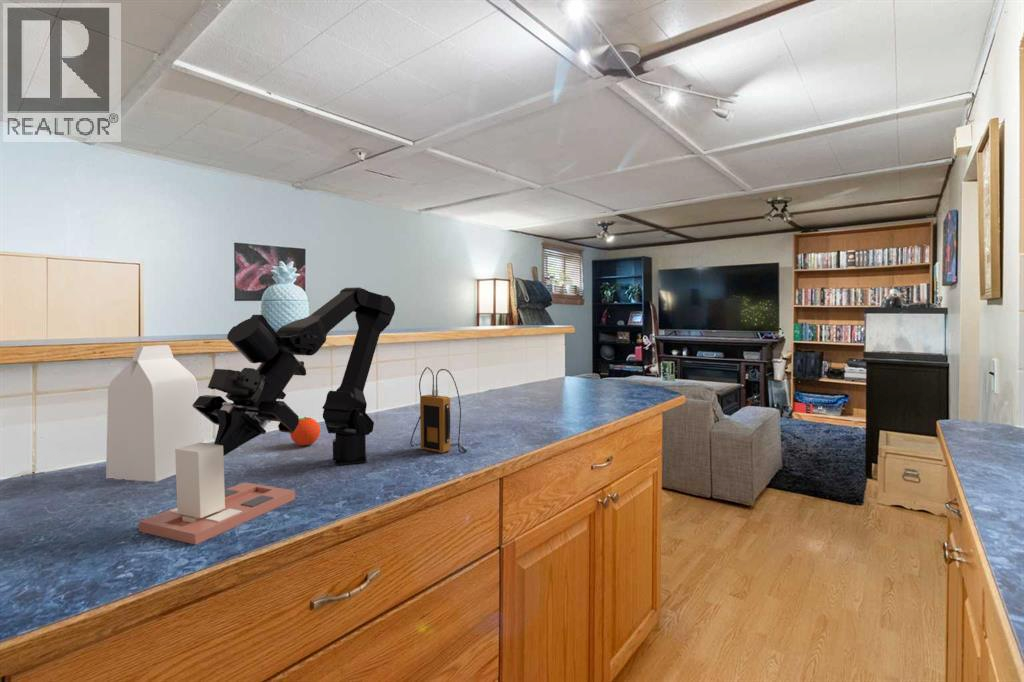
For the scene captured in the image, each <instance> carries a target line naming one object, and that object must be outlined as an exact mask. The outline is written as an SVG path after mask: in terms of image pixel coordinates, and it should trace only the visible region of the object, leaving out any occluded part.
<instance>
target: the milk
mask: <svg viewBox="0 0 1024 682" xmlns="http://www.w3.org/2000/svg"><path fill="white" fill-rule="evenodd" d="M199 396H200V395H199V388H198V382H197V378H196V377H195V376H194V375H193V373H191V371H189V370H188V369H187V368H186V367H185V366H184V365H182V364H181V363H180V362H179V361H178V360H177V359H176V358H175V357H174V355H173V352H172V350H171V346H170V345H168V344H160V345H143V346H137V347H136V350H135V352H134V354H133V357H132V359H131V361H130V362H129V363H128V364H127V365H126V366H125V367H124V368H123V369H122V370H121V371H119V373H118V374H117V375H116V376H115V377H113V379H112V380H111V381H110V383H109V385H108V388H107V414H106V415H107V416H106V418H107V420H106V421H107V422H106V425H107V426H106V457H105V458H106V460H105V461H106V462H105V463H106V464H105V465H106V466H105V467H106V468H105V469H106V470H105V478H106V479H108V478H114V480H122V479H125V480H124V481H139V482H150V483H151V482H152V483H153V482H154V483H156V482H160V481H162V480H164V479H168V478H170V477H173V476H176V458H175V449H177V448H181V447H185V446H189V445H193V444H197V443H200V442H201V443H204V435H203V426H202V416H201V415H202V414H201V413H200V412H199V411H198V410H196V409H195V408H194V407H193V404H194V402H195V401H196V400H197V399H198V397H199Z"/></svg>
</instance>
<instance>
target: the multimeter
mask: <svg viewBox="0 0 1024 682" xmlns="http://www.w3.org/2000/svg"><path fill="white" fill-rule="evenodd" d="M427 369H428V370H429V371H430V372H431V375H432V390H431V394H429V393H428V394H425V395H422V392H421V380H422V377H423V375H424V373H425V371H426V370H427ZM441 371H446V372H447V373H448V374H449V375H450V377H451V379H452V380H453V383H454V386H455V389H456V394H457V397H458V398H457V399H458V404H459V405H458V406H459V426H458V428H459V429H458V441H457V442H451V397H450V396H448V395H445V396H443V395H439V390H438V374H439V373H440V372H441ZM434 377H435V378H434ZM418 388H419V389H418V390H419V397H420V398H419V404H420V405H419V406H420V408H419V411H420V413H419V415H420V416H418V417H419V418H418V420H417V423H416V424H415V427H414V429H413V433H412V434H411V435H412V436H411V438H410V446H411V447H415V446H414V445H416V446H419V445H418V444H419V443H417V444H412V443H413V442H412V441H413V437H414V434H415V432H416V429H417V427H418V425H419V423H420V444H421V445H420V449H421V450H423V449H424V450H423V451H426V450H427V451H432V452H436V453H439V454H444V453H447V452H449V451H450V450H451V445H452V446H453V445H454V444H455V445H457V446H458V451H459V453H461V454H462V453H463V454H464V453H467V452H468V450H467V448H466V447H465V445H464V444H466V442H460V435H461V421H462V420H461V419H462V417H461V416H462V407H461V401H460V394H459V390H458V386H457V384H456V381H455V378H454V376H453V375H452V373H451V372H450V371H449V370H447V369H446V368H441V369H439V370H438V371H437V372H436V375H434V372H433V371H432V369H431V368H430V367H429V366H427V367H425V368H424V370H423V371H422V373H421V375H420V378H419V382H418ZM460 446H461V448H462V449H463V450H464V451H461V449H460ZM425 449H426V450H425Z"/></svg>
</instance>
